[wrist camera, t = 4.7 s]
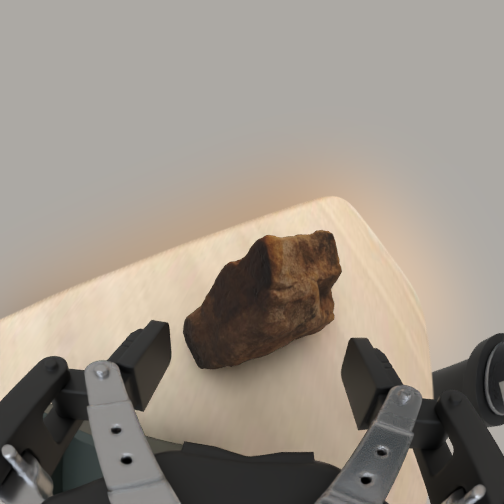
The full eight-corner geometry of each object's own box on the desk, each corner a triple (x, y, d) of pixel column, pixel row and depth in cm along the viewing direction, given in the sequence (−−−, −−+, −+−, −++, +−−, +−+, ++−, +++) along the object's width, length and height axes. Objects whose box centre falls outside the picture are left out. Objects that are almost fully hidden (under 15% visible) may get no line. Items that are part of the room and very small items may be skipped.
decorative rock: (306, 278, 26) (335, 200, 16) (334, 335, 23) (388, 281, 13) (182, 319, 23) (140, 256, 14) (202, 384, 20) (163, 365, 11)
